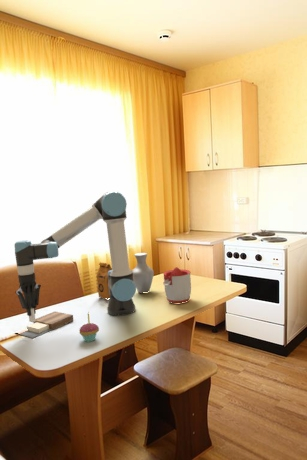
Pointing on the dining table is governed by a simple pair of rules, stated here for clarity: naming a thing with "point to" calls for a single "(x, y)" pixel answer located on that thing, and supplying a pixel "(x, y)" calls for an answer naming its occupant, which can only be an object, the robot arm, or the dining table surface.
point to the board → (55, 319)
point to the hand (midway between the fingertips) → (32, 321)
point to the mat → (33, 333)
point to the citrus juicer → (177, 285)
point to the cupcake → (89, 331)
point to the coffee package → (103, 280)
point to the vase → (142, 273)
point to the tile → (38, 327)
